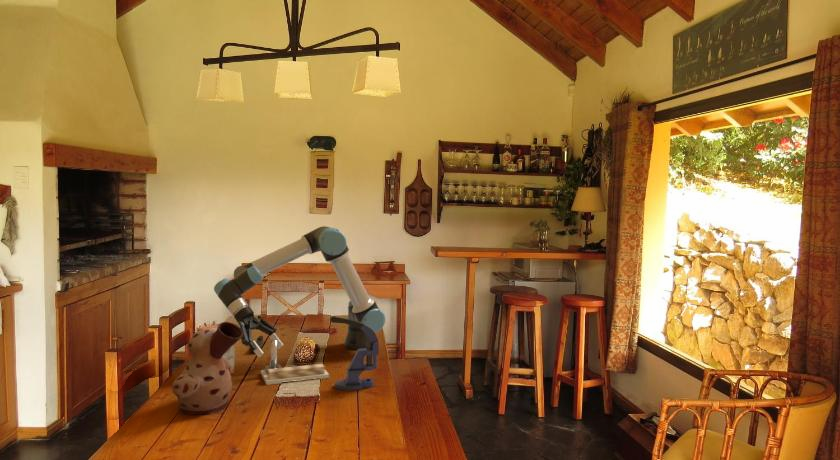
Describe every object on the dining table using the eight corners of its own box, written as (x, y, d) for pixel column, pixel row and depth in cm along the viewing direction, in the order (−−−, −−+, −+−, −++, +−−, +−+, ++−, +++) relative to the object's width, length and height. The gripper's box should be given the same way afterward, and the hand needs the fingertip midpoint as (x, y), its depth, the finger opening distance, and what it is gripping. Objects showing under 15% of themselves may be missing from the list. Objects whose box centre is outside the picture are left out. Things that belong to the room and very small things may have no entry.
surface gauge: (279, 368, 238) (280, 338, 237) (283, 374, 231) (283, 343, 230) (265, 370, 236) (265, 339, 235) (268, 376, 228) (268, 344, 227)
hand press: (375, 381, 230) (377, 313, 228) (379, 388, 222) (380, 317, 220) (328, 383, 226) (329, 314, 224) (330, 391, 217) (331, 319, 215)
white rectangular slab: (320, 367, 246) (320, 364, 246) (329, 378, 233) (329, 374, 233) (260, 373, 236) (261, 370, 236) (266, 385, 223) (266, 381, 223)
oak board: (322, 370, 237) (322, 363, 237) (324, 373, 233) (324, 366, 233) (268, 376, 228) (268, 369, 228) (269, 379, 224) (269, 372, 224)
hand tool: (258, 354, 263) (258, 345, 263) (249, 354, 263) (249, 344, 263) (267, 343, 282) (267, 334, 282) (259, 343, 282) (259, 334, 282)
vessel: (196, 391, 214) (196, 312, 212) (255, 393, 214) (255, 314, 212) (159, 422, 186) (158, 331, 183) (226, 424, 185) (226, 333, 183)
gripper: (254, 311, 251) (283, 348, 246) (215, 323, 227) (246, 365, 223) (264, 300, 248) (294, 338, 244) (226, 311, 225) (257, 353, 221)
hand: (271, 351), depth 233 cm, fingers open, 13 cm apart
